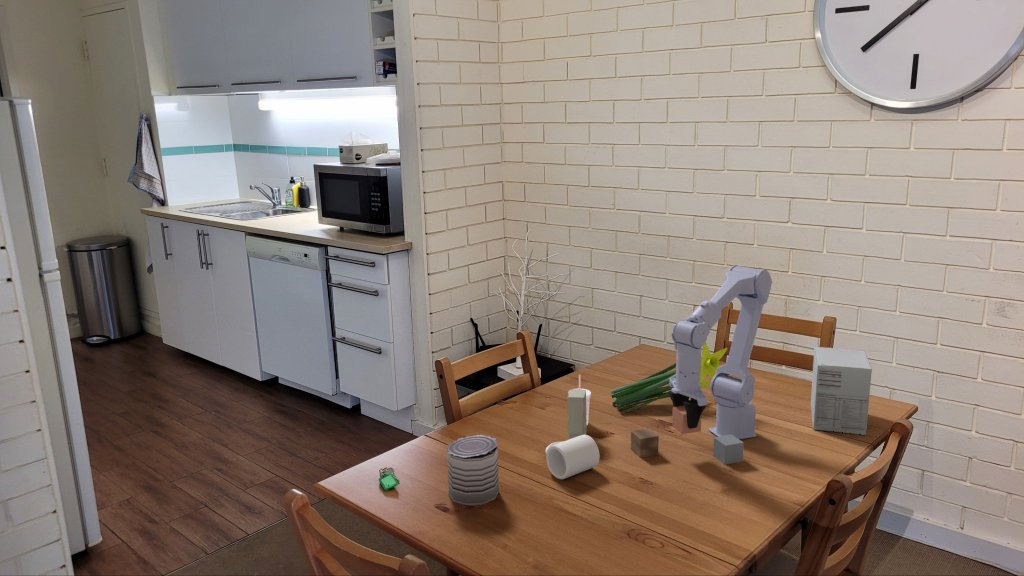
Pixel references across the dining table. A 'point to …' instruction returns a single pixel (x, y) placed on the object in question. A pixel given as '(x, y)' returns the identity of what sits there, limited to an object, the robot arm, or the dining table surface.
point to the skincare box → (576, 413)
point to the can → (473, 470)
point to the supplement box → (840, 390)
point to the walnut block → (644, 442)
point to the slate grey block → (728, 449)
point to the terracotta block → (683, 421)
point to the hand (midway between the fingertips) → (686, 423)
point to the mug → (572, 456)
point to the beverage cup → (586, 399)
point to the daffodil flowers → (662, 383)
